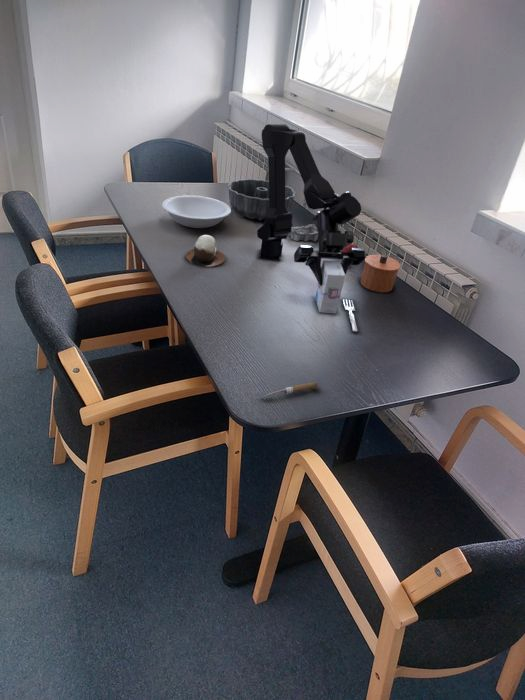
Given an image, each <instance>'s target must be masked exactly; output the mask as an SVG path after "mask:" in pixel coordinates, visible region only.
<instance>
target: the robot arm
mask: <svg viewBox="0 0 525 700" xmlns="http://www.w3.org/2000/svg"><path fill="white" fill-rule="evenodd" d="M306 139H307V137H306V134H305V133H304V132H302V131H298V130H296V129H293V128H290V127H289V126H288V125H287V124H285V123H268V124H265V125H264V127H263V129H262V130H261V142H262V148H263V151H264V153H265V154H266V156H267V160H268V162H267V163H268V181H269V209H268V211H267V213H266V215H265V218H264V219H263V220H264V221H263V225H261V226H260V228H258V229H257V230H256V234H257V238H258V239H260V240H261V245H260V250H259V259H263V260H269V261H270V260H271V261H280V258H281V257H282V254H283V247H284V242H283V240H287V238H288V237H289V235H288V234H289V233H290V232H291V228H293V226H294V225H293V213H292V212H288V211H287V209H286V206H285V186H286V156H287V155H288V153H289V151H290V154H291V157H292V159H293V161H294V163H295V166H296V168H297V170H298V173H299V175H300V178H301V179H302V182H303V196H304V200H305V204H306V205H307V207H308V208H309V209H311V210H319V211H317V212H316V213H315V215H314V216H313V217H312V221H313V222H317V231H318V238H317V240H316V242H317V243H318V250H317V249H316V250H315V249H314V246H313V245H302V244H301V245H299V246H298V247H297V249H296V250H295V252H294V253H293V262H294V263H303V264H305V266H307V267H309V269H310V270H311V272H312V274H313V275H314V277H315V279H316V281H317V284H318V283H319V285H320V286H322V271H321V267H322V259H324V260H325V259H328V260H340V263H341V265H342V268H343V271H344V273H345V277H346V276H347V272H348V269H349V267H351V266H359V265H360V264H362V263H363V262H364V261H365V258H366V256H367V252H366V251H365V249H364V248H360V247H356V248H351V249H350V250H349V251H348V252H342V251H343V249H344V248H345V247H347V246H348V244H351V243H353V242H354V240H355V234H354V230H345V231H344V233H343V232H342V231H341V230H340V225H345V224H347V223H348V222H349V221H351V220H353V219H355V218H357V217H358V216H360V215H361V212H362V206H361V203H360V202H359V200H358V199H357V198H356V197H355V196H353V195H352V192H351V191H345V192H343V193H342V194H341V195H340V196H339V194H337V193H336V192H335V190H334V189H333V187H332V185H331V184H330V182H329V181H328V180H327V179H326V178H324V177H323V176H322V174H321V172H320V170H319V168H318V165H317V163H316V161H315V159H314V157H313V154H312V152H311V150H310V148H309V145H308V143H307V140H306ZM321 209H322V210H321Z"/></svg>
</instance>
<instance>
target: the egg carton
mask: <svg viewBox="0 0 525 700" xmlns="http://www.w3.org/2000/svg"><path fill="white" fill-rule="evenodd" d="M288 237H290V238H291V240H293V241H295V242H298V241H304V242H308V241H312V242H317V238H318V227H316V224H315V223H311V224H306V225H302V226H294V227H291V232H290V233H289V234H288Z"/></svg>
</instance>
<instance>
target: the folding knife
mask: <svg viewBox="0 0 525 700" xmlns="http://www.w3.org/2000/svg"><path fill="white" fill-rule="evenodd" d="M318 385H319V382H318V381H314V382H308V383H299V384H296V385H292V386H287V387H285V388H283V389H281V390H276V391H274V392H270V393H268V394H264V395H261V396H260V398H261V399H270V398H274V397H277V396H281V395H284V394H286V395H287V394H288V395H289V394H293V393H299V392H304V391H308V390H317V389H318Z"/></svg>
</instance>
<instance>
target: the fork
mask: <svg viewBox="0 0 525 700" xmlns="http://www.w3.org/2000/svg"><path fill="white" fill-rule="evenodd" d="M353 301H354V300H352V299H351V300H350V299H348V300H347V299H342V304H343V309H344V311H346V312H348V318H349V322H350V328H351V331H352V333H356V334H357V333H358V331H359V330H358V326H357V322H356V319H355V314H354V313H355V312H356V309H355V305H354V302H353Z"/></svg>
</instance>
